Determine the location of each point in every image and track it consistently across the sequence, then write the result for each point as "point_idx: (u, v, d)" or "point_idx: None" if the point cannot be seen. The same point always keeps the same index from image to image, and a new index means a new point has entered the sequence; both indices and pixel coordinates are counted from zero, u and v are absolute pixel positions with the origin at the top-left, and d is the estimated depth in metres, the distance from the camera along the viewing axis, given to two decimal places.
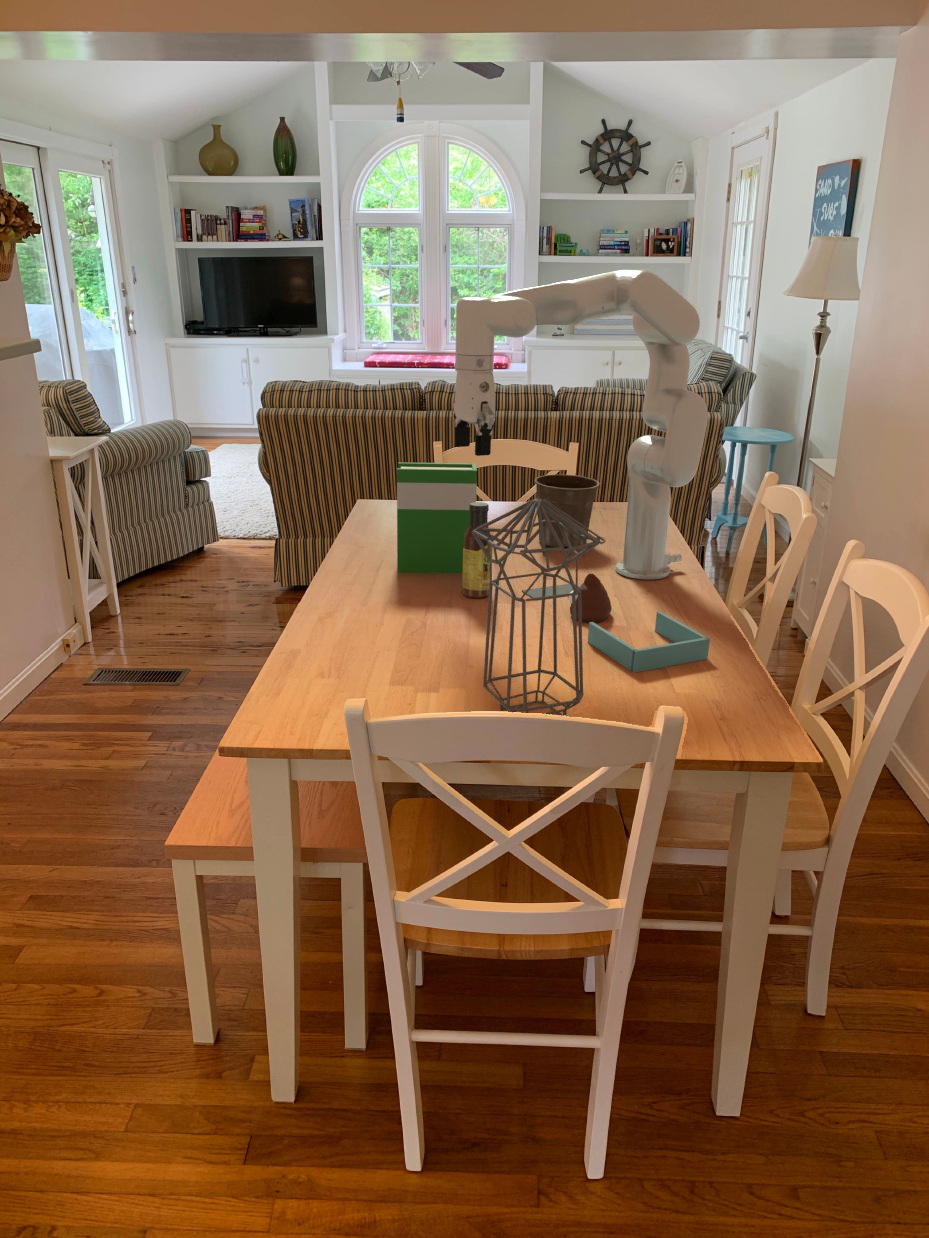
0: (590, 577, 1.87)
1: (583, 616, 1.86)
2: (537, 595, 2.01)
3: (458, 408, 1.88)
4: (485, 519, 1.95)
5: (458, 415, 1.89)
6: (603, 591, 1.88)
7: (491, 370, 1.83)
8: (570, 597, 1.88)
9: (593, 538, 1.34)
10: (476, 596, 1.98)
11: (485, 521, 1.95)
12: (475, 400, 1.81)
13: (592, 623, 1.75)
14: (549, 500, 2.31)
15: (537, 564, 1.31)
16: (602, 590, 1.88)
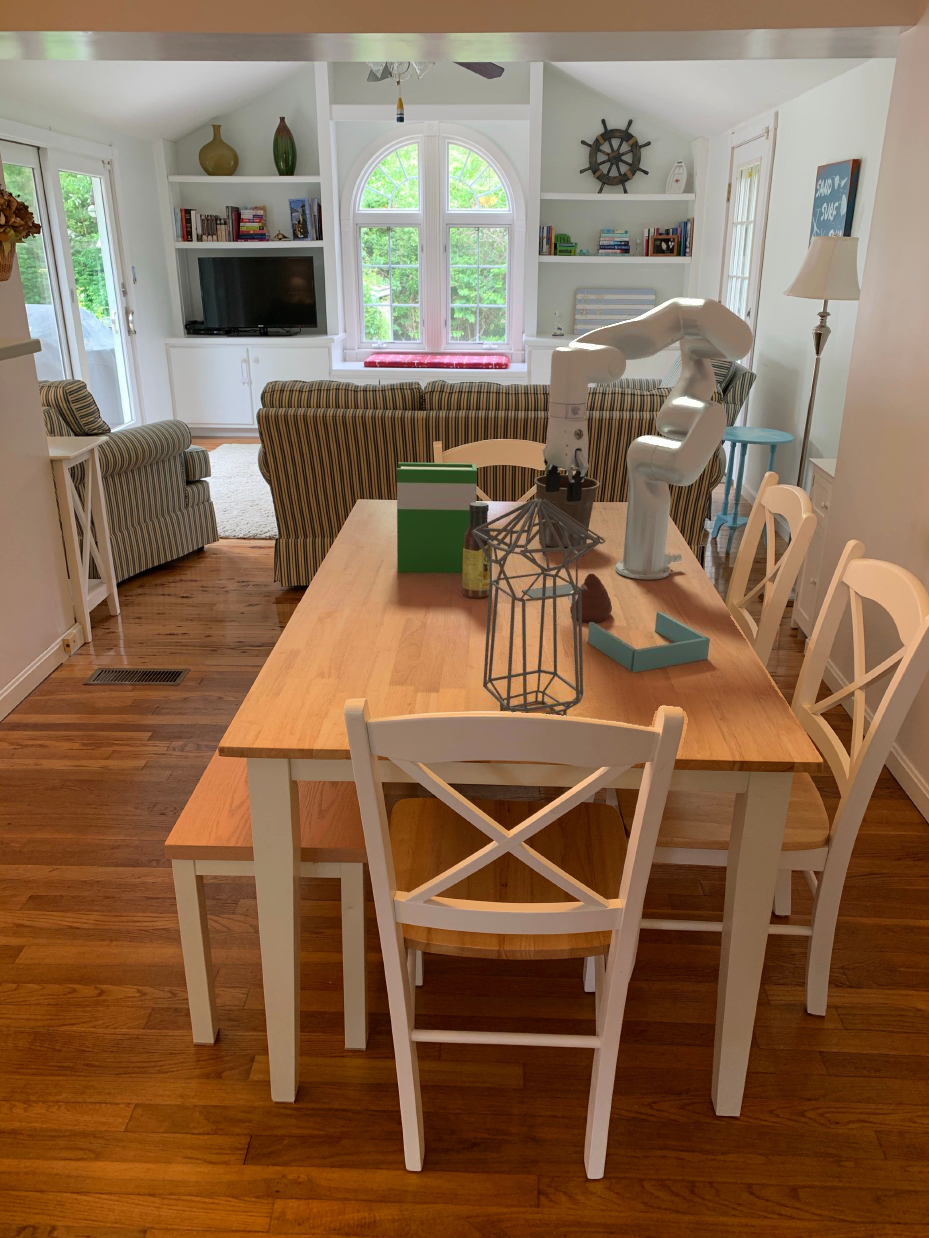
0: (591, 577, 1.87)
1: (583, 616, 1.86)
2: (537, 595, 2.01)
3: (549, 453, 1.92)
4: (485, 519, 1.95)
5: (549, 459, 1.93)
6: (603, 591, 1.88)
7: (584, 417, 1.87)
8: (570, 597, 1.88)
9: (593, 538, 1.34)
10: (476, 596, 1.98)
11: (485, 521, 1.95)
12: (570, 447, 1.86)
13: (592, 623, 1.75)
14: (549, 500, 2.31)
15: (537, 564, 1.31)
16: (602, 590, 1.88)
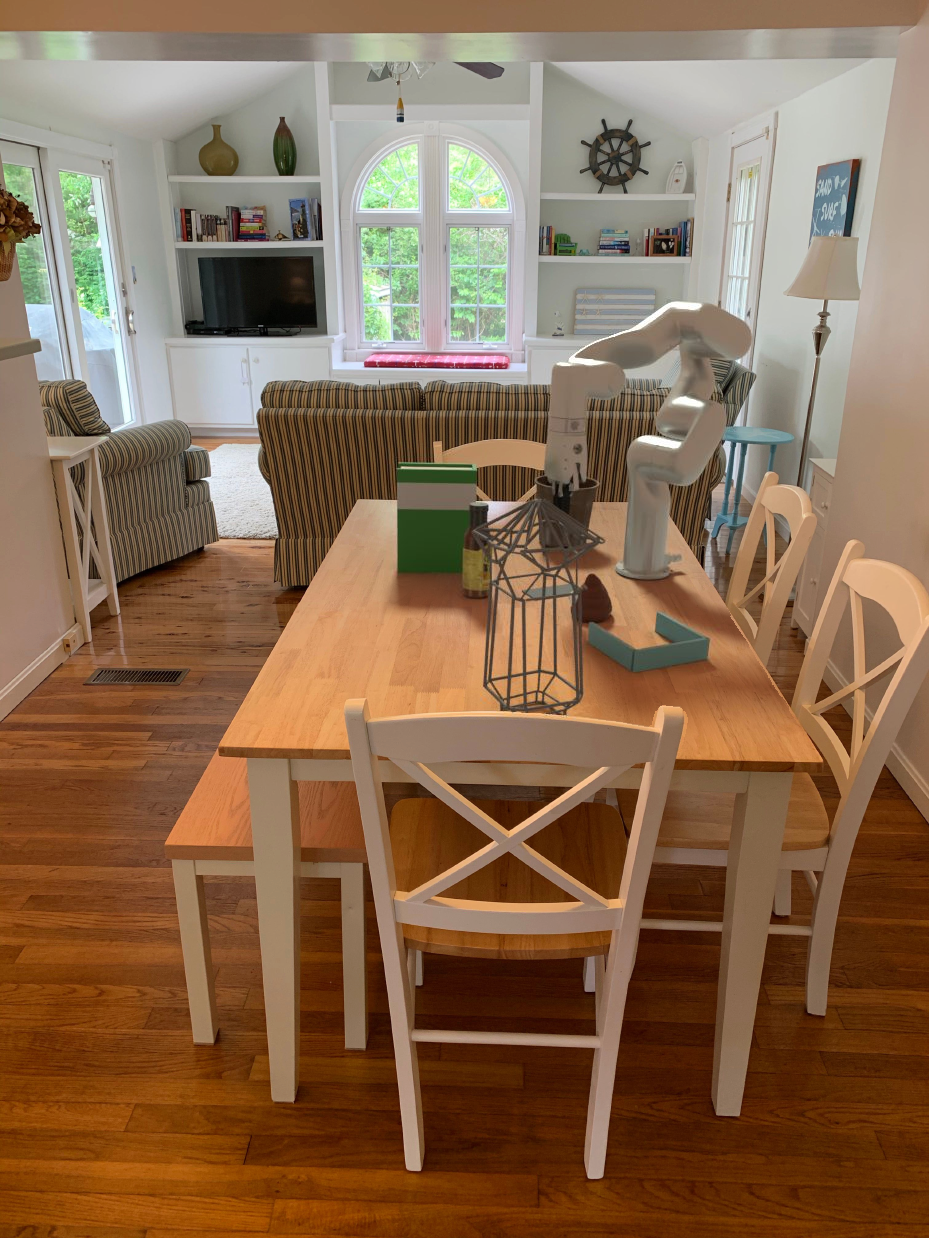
0: (591, 577, 1.87)
1: (584, 616, 1.86)
2: (537, 595, 2.01)
3: (548, 467, 1.93)
4: (485, 519, 1.95)
5: (548, 473, 1.94)
6: (604, 591, 1.88)
7: (584, 432, 1.88)
8: (571, 597, 1.88)
9: (593, 538, 1.34)
10: (476, 596, 1.98)
11: (485, 521, 1.95)
12: (569, 461, 1.86)
13: (592, 623, 1.75)
14: (549, 500, 2.31)
15: (537, 564, 1.31)
16: (603, 590, 1.88)
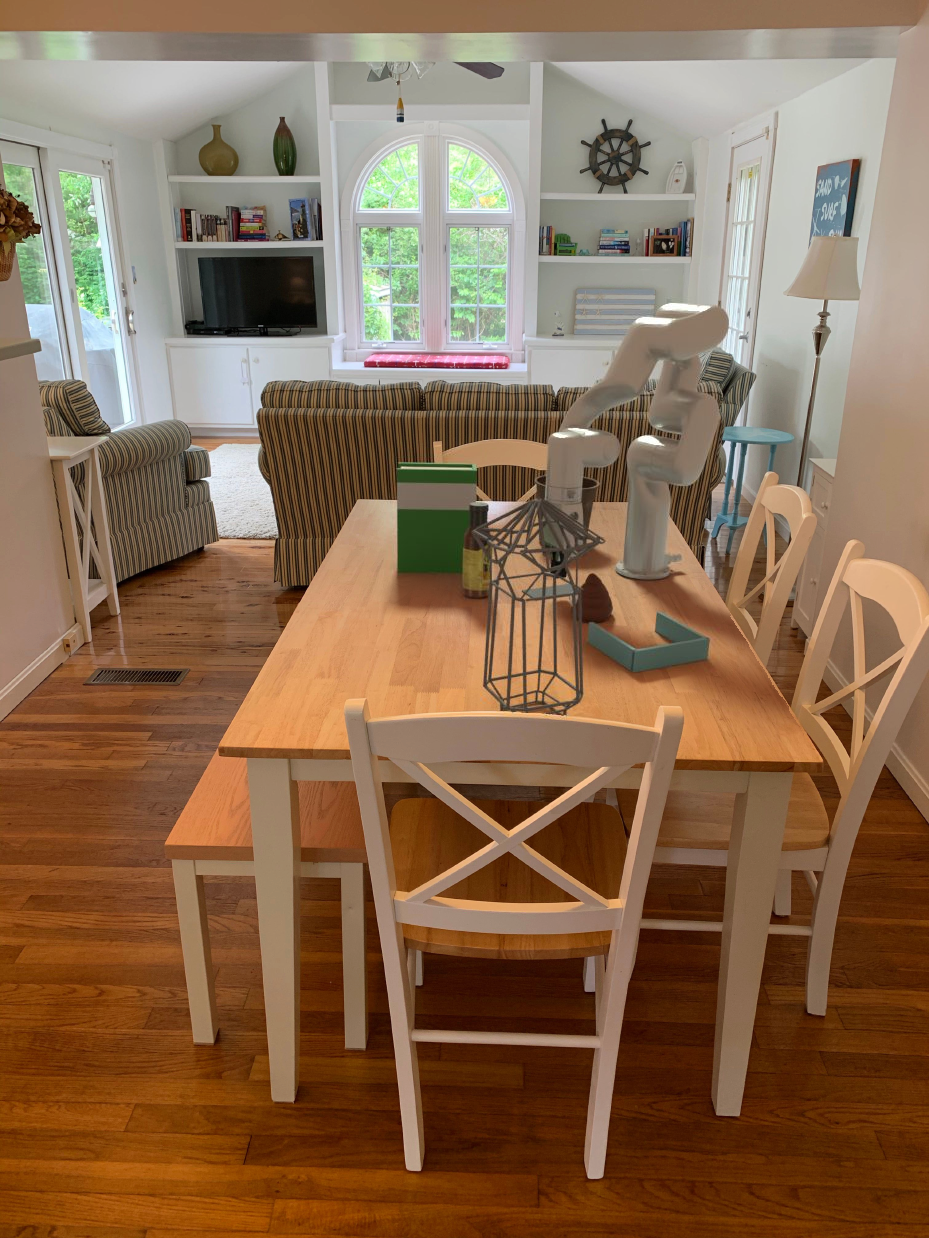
0: (592, 577, 1.87)
1: (584, 616, 1.86)
2: (537, 595, 2.01)
3: (546, 532, 1.98)
4: (485, 519, 1.95)
5: (545, 538, 1.99)
6: (604, 591, 1.88)
7: (580, 500, 1.93)
8: (571, 597, 1.88)
9: (593, 538, 1.34)
10: (476, 596, 1.98)
11: (485, 521, 1.95)
12: None
13: (592, 623, 1.75)
14: None
15: (537, 564, 1.31)
16: (603, 590, 1.88)
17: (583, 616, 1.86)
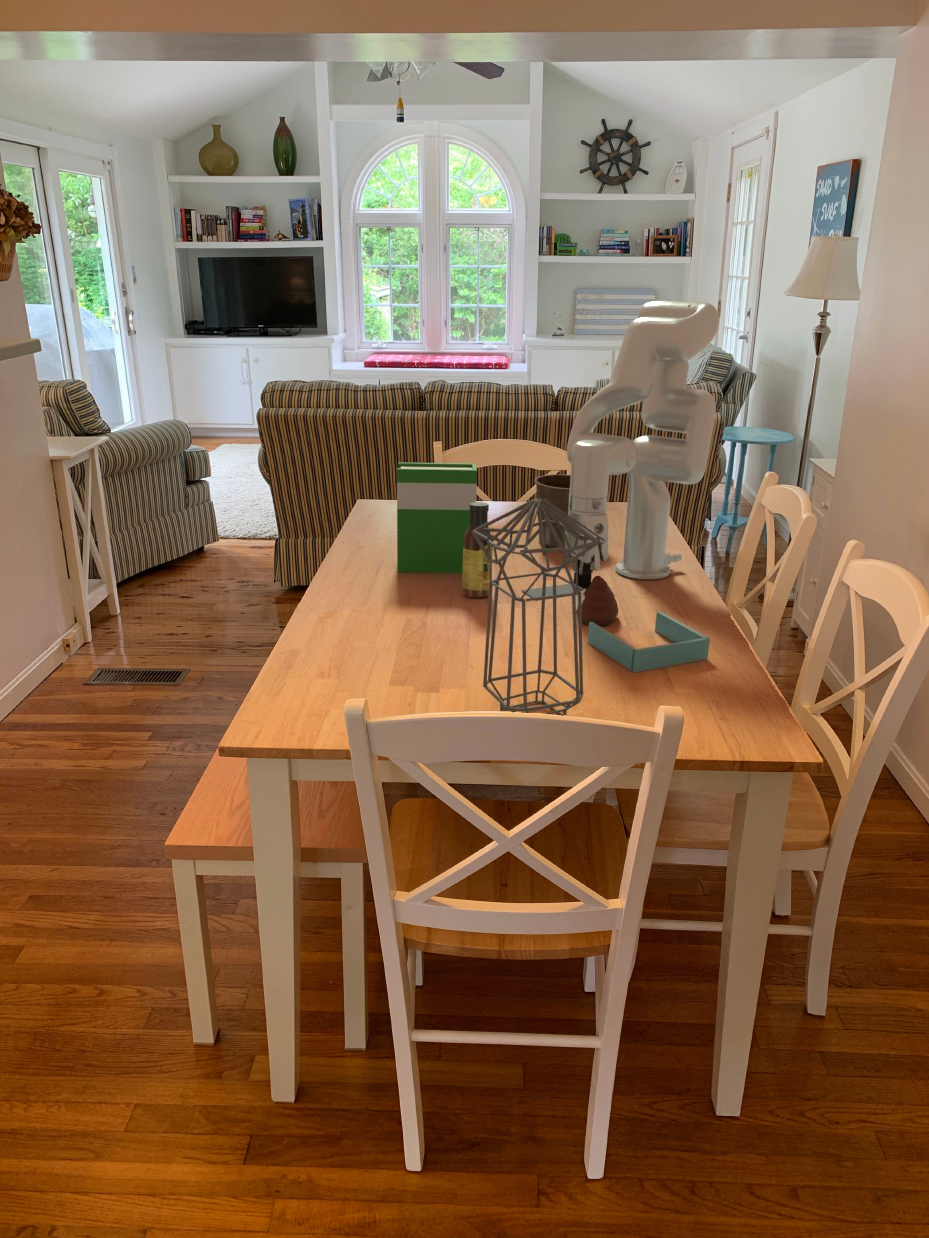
0: (597, 580, 1.85)
1: (589, 619, 1.84)
2: (537, 595, 2.01)
3: None
4: (485, 519, 1.95)
5: None
6: (610, 594, 1.86)
7: (605, 511, 1.85)
8: (576, 599, 1.87)
9: (593, 538, 1.34)
10: (476, 596, 1.98)
11: (485, 521, 1.95)
12: (590, 541, 1.83)
13: (592, 623, 1.75)
14: (549, 500, 2.31)
15: (537, 564, 1.31)
16: (609, 593, 1.86)
17: (588, 619, 1.85)
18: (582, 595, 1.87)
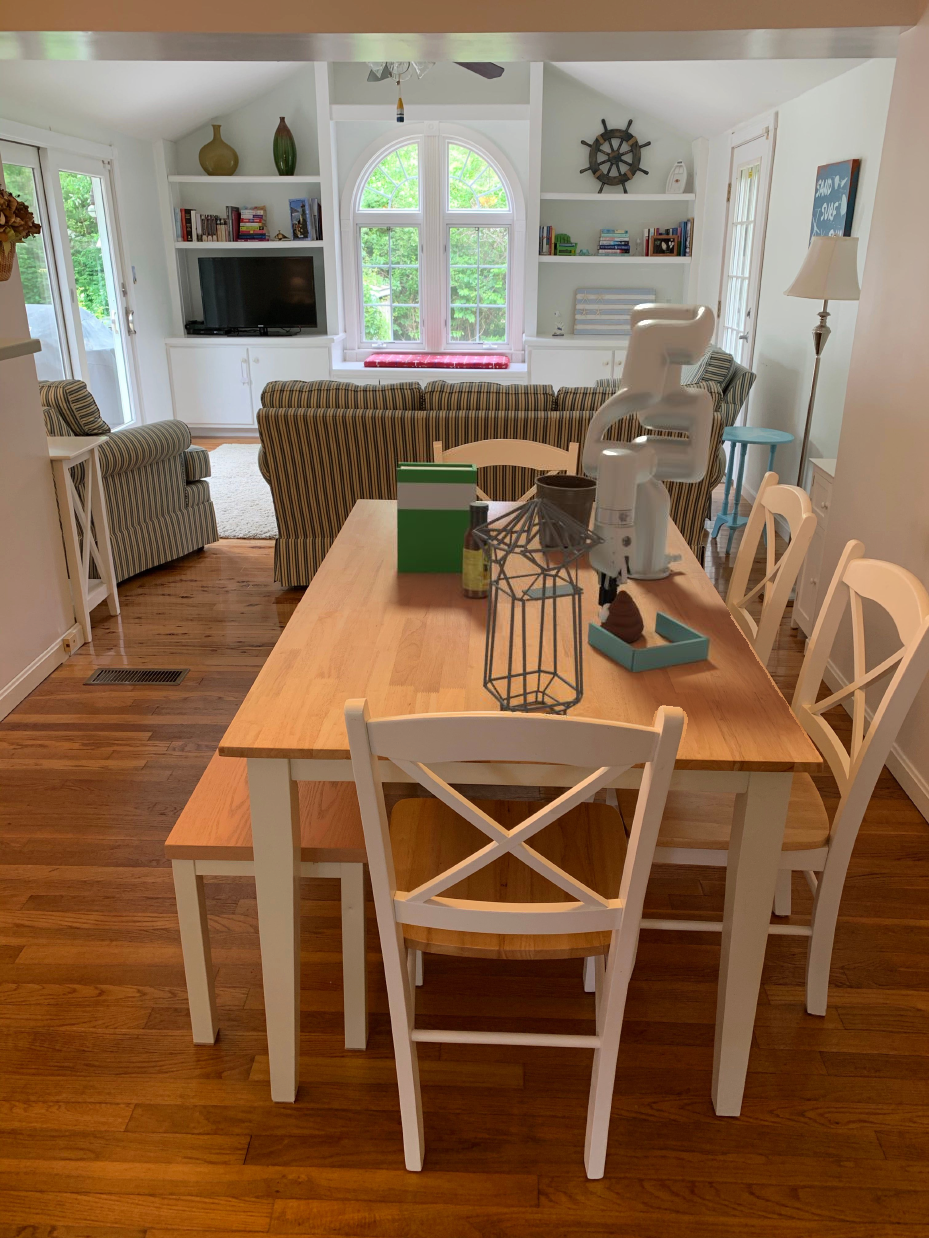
0: (622, 594, 1.77)
1: (614, 635, 1.76)
2: (537, 595, 2.01)
3: (594, 557, 1.82)
4: (485, 519, 1.95)
5: (593, 563, 1.83)
6: (635, 609, 1.78)
7: (632, 523, 1.77)
8: (600, 615, 1.79)
9: (593, 538, 1.34)
10: (476, 596, 1.98)
11: (485, 521, 1.95)
12: (617, 555, 1.75)
13: (592, 623, 1.75)
14: (549, 500, 2.31)
15: (537, 564, 1.31)
16: (634, 608, 1.78)
17: None
18: (606, 610, 1.79)
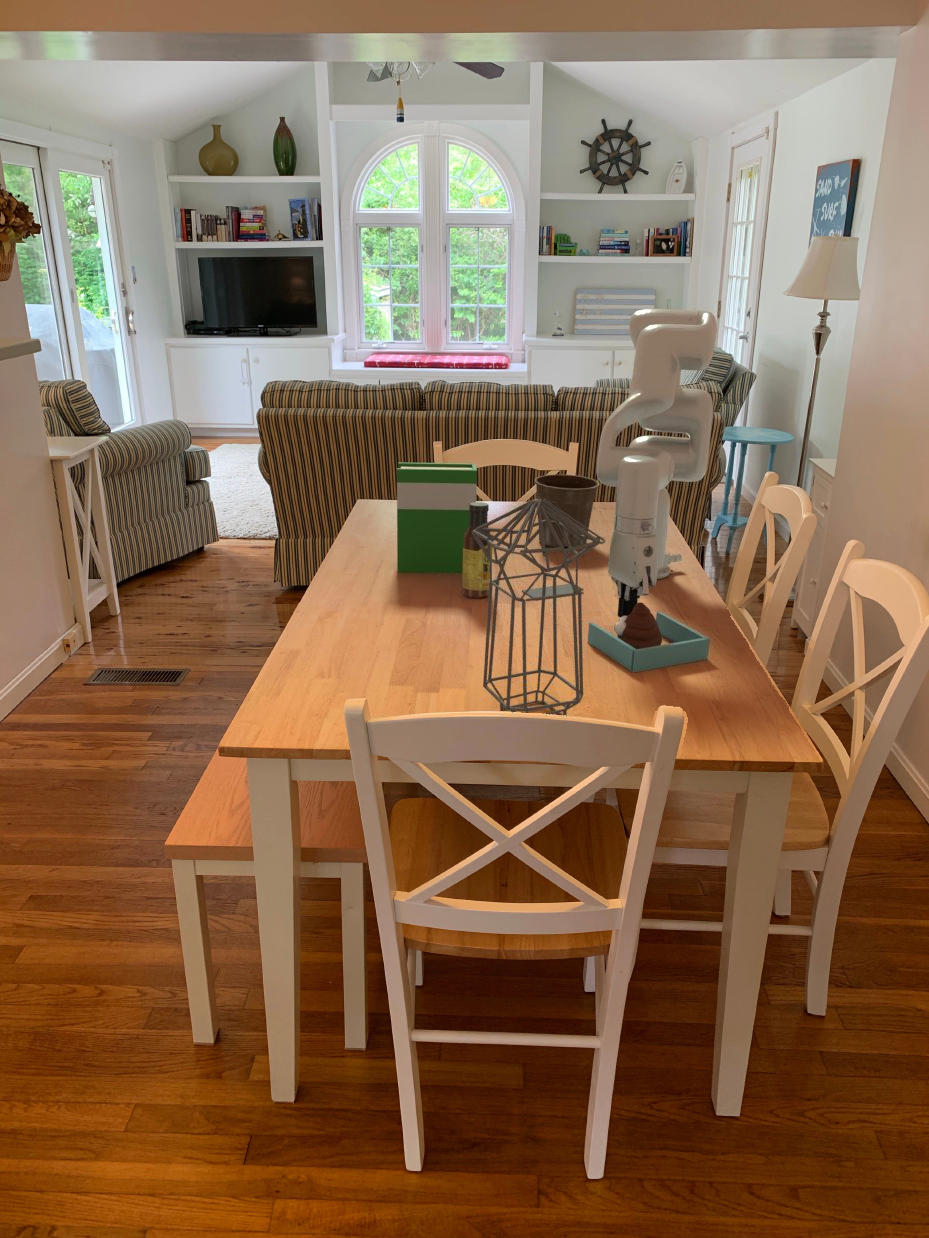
0: (639, 607, 1.71)
1: None
2: (537, 595, 2.01)
3: (613, 568, 1.76)
4: (485, 519, 1.95)
5: (612, 573, 1.77)
6: (653, 622, 1.72)
7: (654, 532, 1.71)
8: (617, 628, 1.73)
9: (593, 538, 1.34)
10: (476, 596, 1.98)
11: (485, 521, 1.95)
12: (638, 565, 1.70)
13: (592, 623, 1.75)
14: (549, 500, 2.31)
15: (537, 564, 1.31)
16: (652, 621, 1.72)
17: None
18: (623, 623, 1.73)
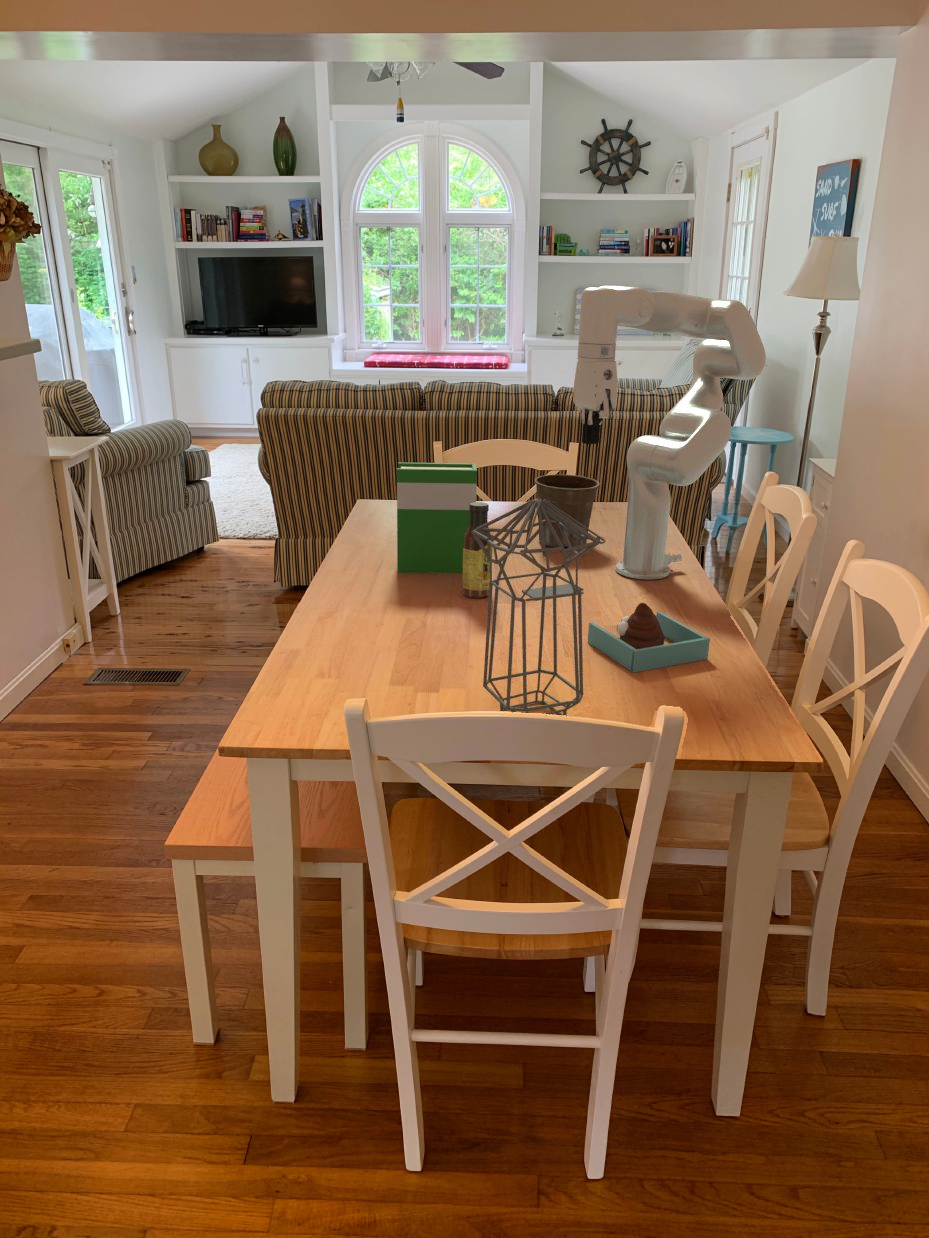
0: (642, 607, 1.71)
1: None
2: (537, 595, 2.01)
3: (578, 396, 1.93)
4: (485, 519, 1.95)
5: (577, 402, 1.94)
6: (656, 622, 1.72)
7: (613, 358, 1.88)
8: (619, 628, 1.73)
9: (593, 538, 1.34)
10: (476, 596, 1.98)
11: (485, 521, 1.95)
12: (599, 387, 1.86)
13: (592, 623, 1.75)
14: (549, 500, 2.31)
15: (537, 564, 1.31)
16: (654, 621, 1.72)
17: None
18: (625, 623, 1.73)
